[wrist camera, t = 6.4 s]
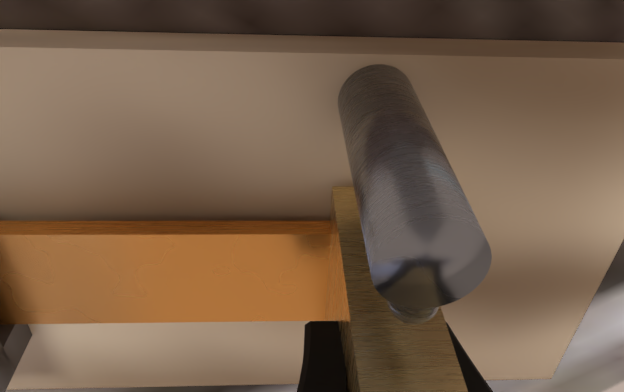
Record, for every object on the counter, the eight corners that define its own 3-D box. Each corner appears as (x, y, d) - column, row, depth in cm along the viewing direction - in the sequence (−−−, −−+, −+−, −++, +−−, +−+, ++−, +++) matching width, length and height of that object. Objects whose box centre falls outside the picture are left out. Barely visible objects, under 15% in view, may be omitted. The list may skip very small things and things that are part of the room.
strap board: (539, 353, 18) (578, 437, 16) (-61, 363, 17) (-118, 455, 14) (685, 44, 12) (792, 104, 9) (-274, 22, 10) (-443, 87, 8)
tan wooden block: (377, 329, 15) (435, 644, 9) (-7, 334, 14) (-197, 676, 9) (401, 186, 12) (510, 521, 6) (-82, 184, 11) (-446, 556, 6)
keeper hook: (403, 157, 12) (467, 335, 8) (333, 156, 12) (360, 336, 8) (418, 64, 10) (504, 220, 6) (340, 63, 10) (378, 220, 6)
